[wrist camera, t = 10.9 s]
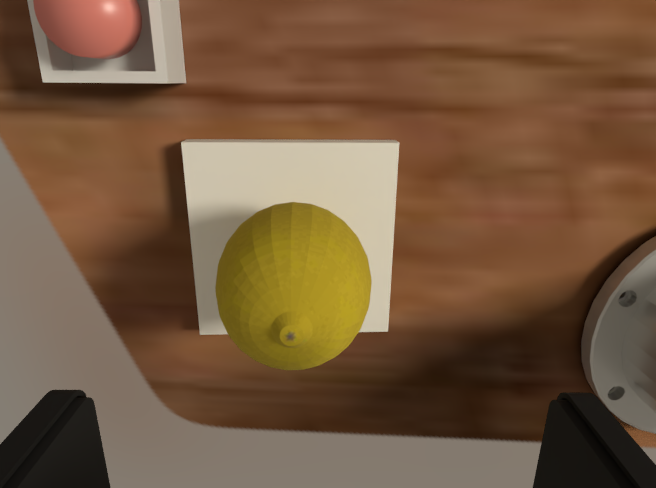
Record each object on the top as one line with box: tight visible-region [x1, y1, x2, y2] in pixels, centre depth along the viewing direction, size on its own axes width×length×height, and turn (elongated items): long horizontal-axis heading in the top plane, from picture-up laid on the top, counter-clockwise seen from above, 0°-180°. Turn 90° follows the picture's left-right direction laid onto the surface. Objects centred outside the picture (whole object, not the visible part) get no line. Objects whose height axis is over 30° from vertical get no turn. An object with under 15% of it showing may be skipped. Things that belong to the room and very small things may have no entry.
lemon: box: [215, 202, 372, 370], centre depth 17 cm, size 6×6×8 cm
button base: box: [27, 0, 186, 83], centre depth 17 cm, size 4×4×3 cm
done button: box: [33, 0, 142, 59], centre depth 15 cm, size 3×3×2 cm
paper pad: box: [181, 139, 399, 335], centre depth 21 cm, size 9×9×1 cm
